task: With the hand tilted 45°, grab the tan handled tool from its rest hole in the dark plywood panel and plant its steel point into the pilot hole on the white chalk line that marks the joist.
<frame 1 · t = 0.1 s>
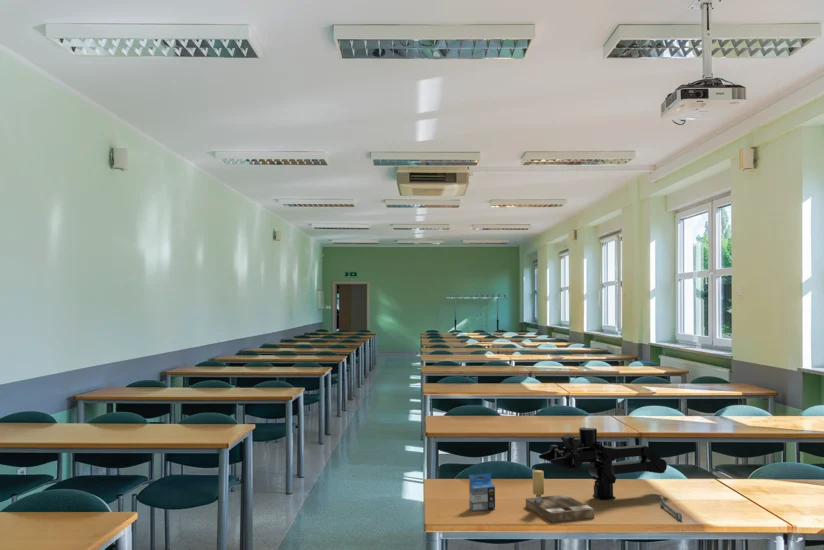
hand: (545, 459, 258), 17 cm above the table, tool horizontal, fingers open, 9 cm apart
subfloor panel: (567, 517, 239), on the table
combination wrench: (670, 513, 244), on the table
ink cartridge box: (482, 509, 250), on the table
tan handled tool: (538, 510, 248), resting in subfloor panel
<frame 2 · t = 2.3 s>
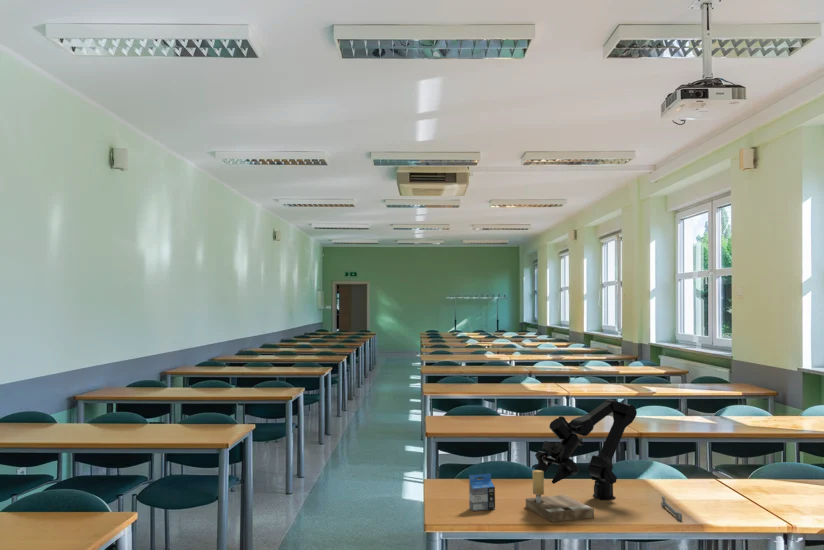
hand: (544, 480, 250), 10 cm above the table, tool tilted 45°, fingers open, 9 cm apart
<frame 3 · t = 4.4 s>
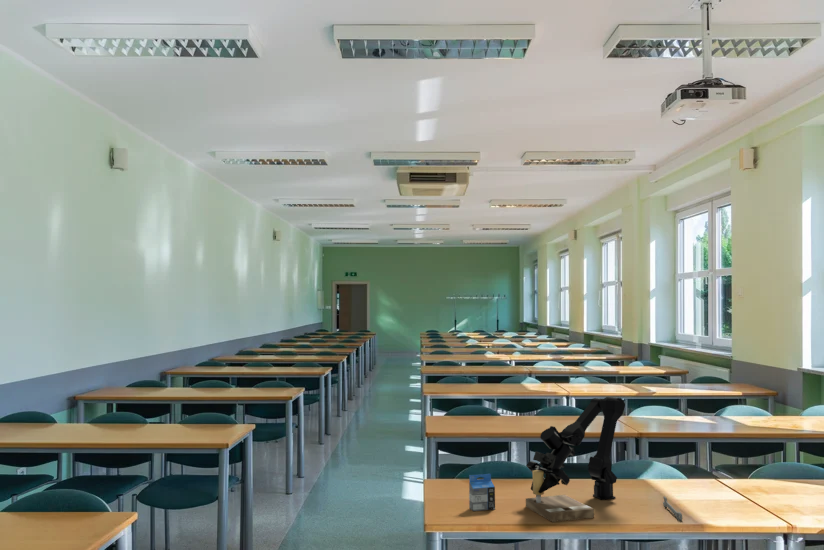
hand: (535, 491, 248), 7 cm above the table, tool tilted 45°, fingers closed on tan handled tool, 4 cm apart
tan handled tool: (538, 510, 248), resting in subfloor panel, touching gripper
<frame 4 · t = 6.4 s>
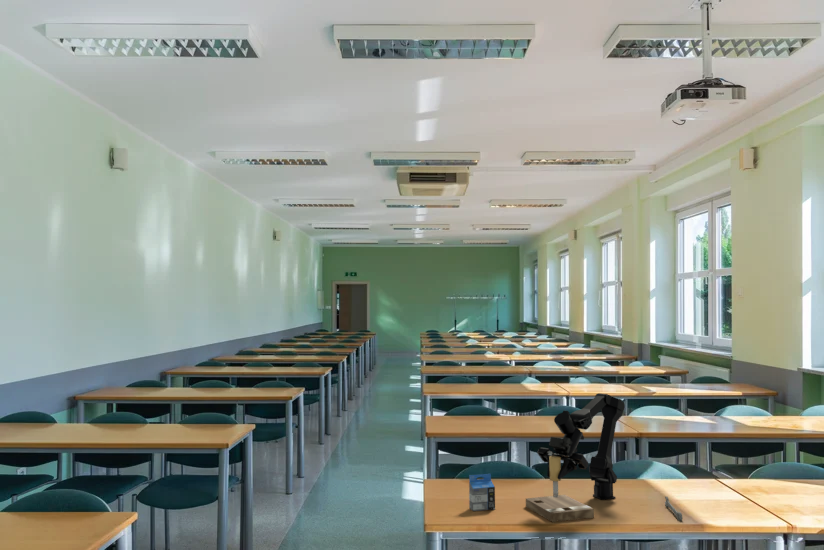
hand: (553, 477, 241), 13 cm above the table, tool tilted 45°, fingers closed on tan handled tool, 4 cm apart
tan handled tool: (555, 496, 242), point 6 cm above the table, touching gripper
when the fingers open (9 cm above the table, at t = 8.6 s): tan handled tool drops 2 cm, resting in subfloor panel.
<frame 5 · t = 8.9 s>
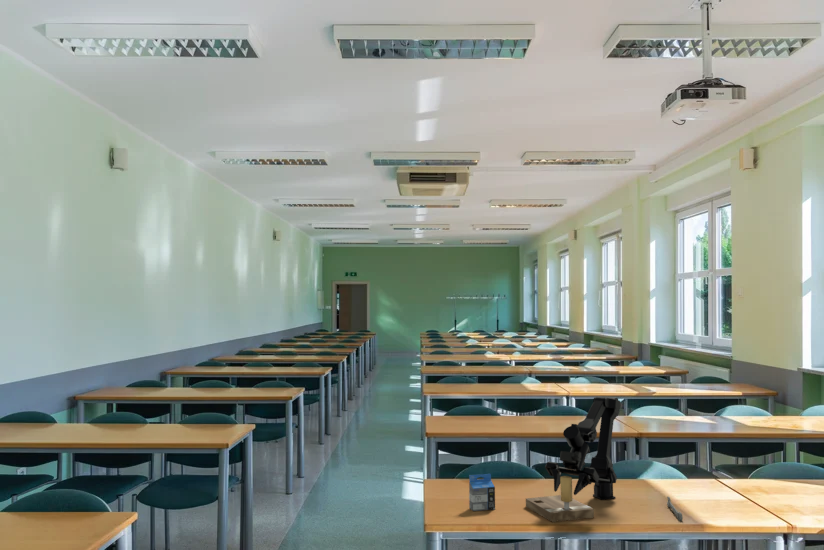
hand: (564, 492, 238), 9 cm above the table, tool tilted 45°, fingers open, 7 cm apart
tan handled tool: (567, 517, 239), resting in subfloor panel
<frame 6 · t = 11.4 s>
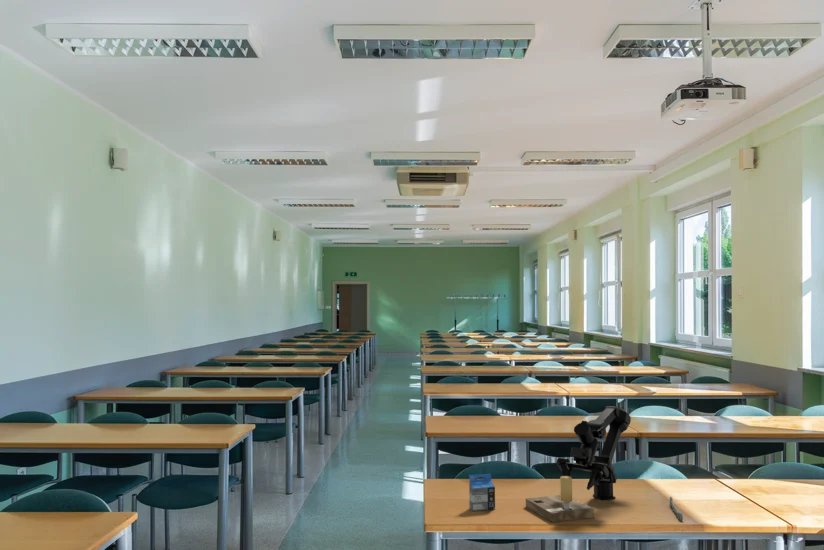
hand: (575, 487, 245), 9 cm above the table, tool tilted 45°, fingers open, 9 cm apart
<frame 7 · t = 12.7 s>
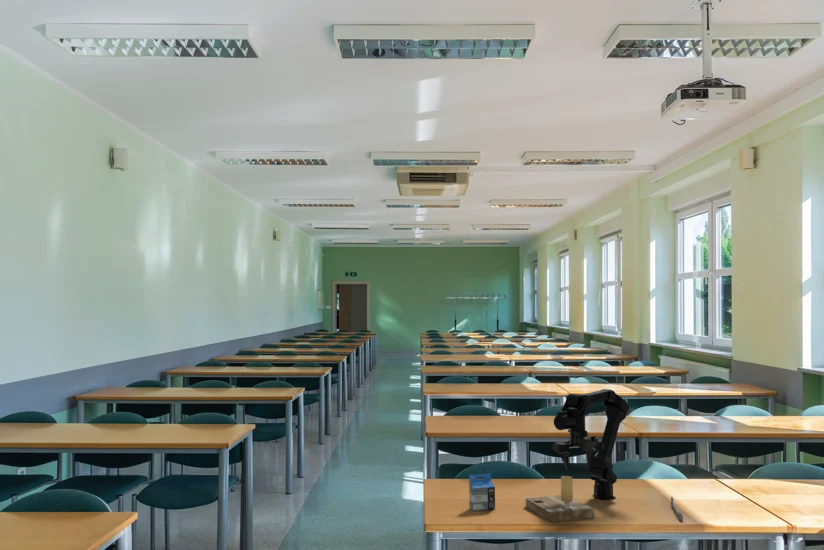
hand: (578, 469, 256), 13 cm above the table, tool pointing down, fingers open, 9 cm apart
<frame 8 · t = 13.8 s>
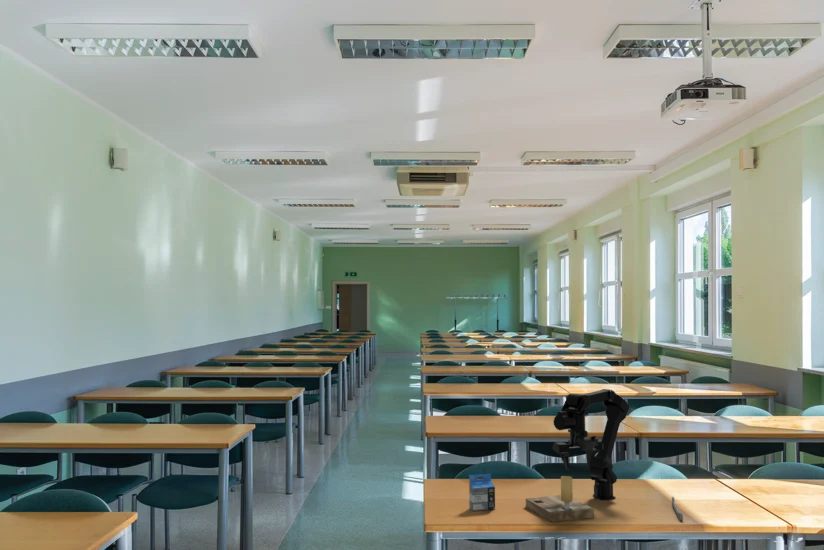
hand: (578, 469, 256), 13 cm above the table, tool pointing down, fingers open, 9 cm apart
at the end: tan handled tool 0.0 cm off-centre on the subfloor panel, point 0.0 cm above the subfloor panel's base; tan handled tool tilted 0°; the gripper is holding nothing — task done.
